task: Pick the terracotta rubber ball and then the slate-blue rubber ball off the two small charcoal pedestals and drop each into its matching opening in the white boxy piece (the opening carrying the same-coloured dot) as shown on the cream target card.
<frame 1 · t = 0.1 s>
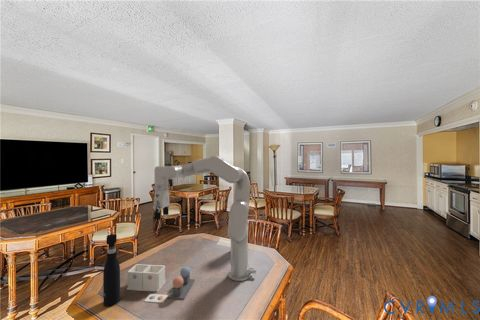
hand: (161, 217, 118), 31 cm above the table, fingers open, 9 cm apart
cylinder container: (240, 250, 145), on the table
ball stand: (181, 288, 101), on the table
target card: (156, 298, 94), on the table
wine bottle: (112, 302, 92), on the table
slate ball: (185, 276, 106), point 3 cm above the table, touching ball stand
terracotta ball: (178, 287, 97), point 3 cm above the table, touching ball stand
white boxy piece: (146, 285, 104), on the table
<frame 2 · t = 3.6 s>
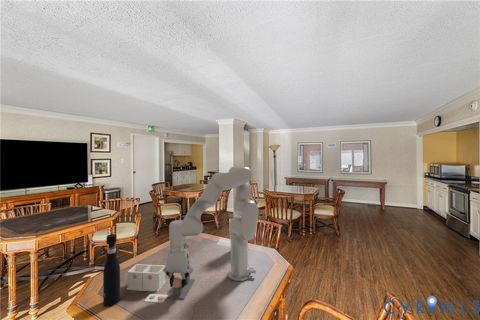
hand: (178, 285, 97), 4 cm above the table, fingers closed on terracotta ball, 4 cm apart
terracotta ball: (178, 287, 97), point 3 cm above the table, touching ball stand, gripper
everything else where it was.
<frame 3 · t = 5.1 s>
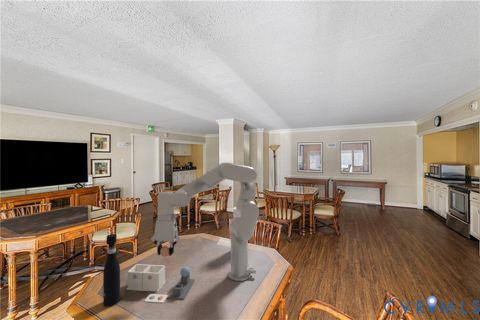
hand: (165, 253, 100), 18 cm above the table, fingers closed on terracotta ball, 4 cm apart
terracotta ball: (165, 256, 100), point 17 cm above the table, touching gripper
everything else where it was.
when the fingers open (11 cm above the table, at t = 6.8 s): terracotta ball drops 10 cm, resting on white boxy piece.
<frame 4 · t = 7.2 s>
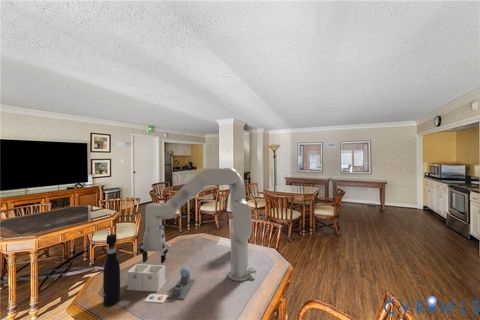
hand: (154, 261, 104), 12 cm above the table, fingers open, 9 cm apart
terracotta ball: (154, 284, 104), point 1 cm above the table, touching white boxy piece
everything else where it was.
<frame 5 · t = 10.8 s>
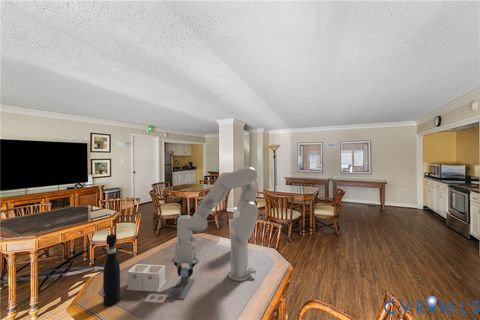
hand: (185, 274, 106), 4 cm above the table, fingers closed on slate ball, 4 cm apart
slate ball: (185, 276, 106), point 3 cm above the table, touching ball stand, gripper
everything else where it was.
when the fingers open (11 cm above the table, at t = 14.5 s): slate ball drops 10 cm, resting on white boxy piece.
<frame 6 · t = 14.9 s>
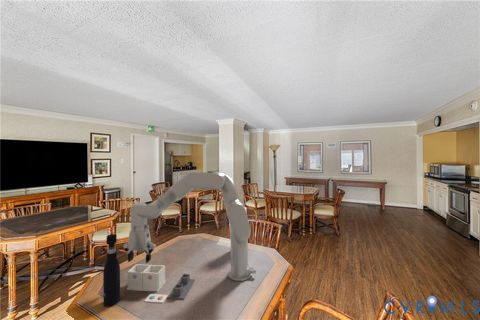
hand: (139, 261, 105), 12 cm above the table, fingers open, 9 cm apart
slate ball: (139, 283, 105), point 1 cm above the table, touching white boxy piece
everything else where it was.
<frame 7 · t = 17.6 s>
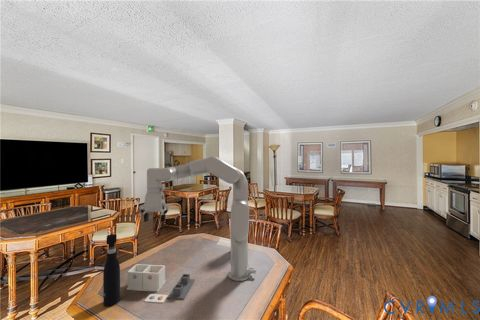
hand: (154, 221, 112), 30 cm above the table, fingers open, 9 cm apart
nothing on the table moved.
at the end: terracotta ball 0.1 cm from the target spot on the white boxy piece, point 0.6 cm above the white boxy piece's base; slate ball 0.0 cm from the target spot on the white boxy piece, point 0.6 cm above the white boxy piece's base; the gripper is holding nothing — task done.
